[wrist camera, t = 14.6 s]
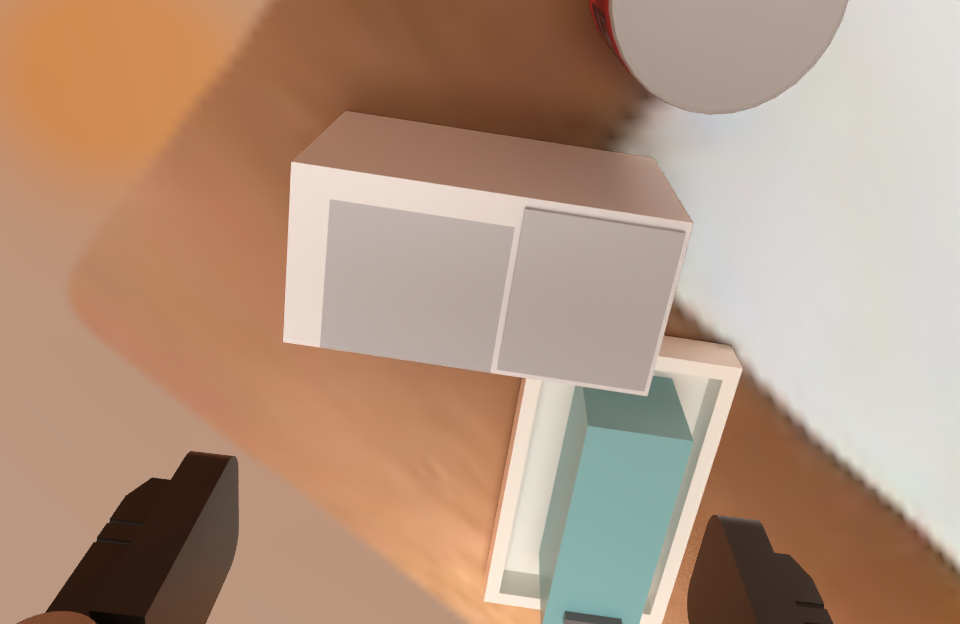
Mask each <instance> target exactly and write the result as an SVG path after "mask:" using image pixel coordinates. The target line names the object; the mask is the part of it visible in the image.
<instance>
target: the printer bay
mask: <svg viewBox="0 0 960 624" xmlns="http://www.w3.org/2000/svg"><path fill="white" fill-rule="evenodd" d="M692 227H693V221H692V220H691V218H690V217H689V215H688V213H687V212H686V210H685V208H684V207H683V205H682V203H681V202H680V200H679V199H678V197H677V195H676V194H675V192H674V190H673V189H672V187H671V186H670V184H669V182H668V181H667V179H666V177H665V176H664V174H663V172H662V171H661V169H660V168H659V166H658V164H657V163H656V161H655V159H654V158H650V157H643V156H637V155H630V154H624V153H617V152H611V151H604V150H598V149H591V148H585V147H578V146H572V145H565V144H559V143H552V142H546V141H539V140H533V139H526V138H520V137H513V136H507V135H500V134H494V133H487V132H481V131H474V130H467V129H461V128H454V127H448V126H441V125H435V124H428V123H422V122H415V121H409V120H402V119H396V118H389V117H383V116H376V115H370V114H363V113H357V112H350V111H345V112H344V113H343V114H342V115H341V116H339V117H338V118H337V119H336V120H335V121H334V122H333V123H332V124H331V125H330V126H329V127H328V128H327V129H326V130H325V131H324V132H322V133H321V134H320V135H319V136H318V137H317V138H316V139H315V140H314V141H313V142H312V143H311V144H310V145H309V146H308V147H307V148H305V149H304V150H303V151H302V152H301V153H300V154H299V155H298V156H297V157H296V158H295V159H294V160H293V161H292V162H291V182H290V204H289V226H288V248H287V270H286V292H285V314H284V336H283V342H287V343H293V344H300V345H307V346H313V347H320V348H327V349H334V350H340V351H347V352H354V353H360V354H367V355H374V356H381V357H387V358H394V359H401V360H407V361H414V362H421V363H427V364H434V365H441V366H448V367H454V368H461V369H468V370H474V371H481V372H488V373H495V374H501V375H508V376H515V377H521V378H528V379H535V380H542V381H548V382H555V383H562V384H568V385H575V386H582V387H589V388H595V389H602V390H609V391H615V392H622V393H629V394H635V395H642V396H648V392H649V388H650V385H651V381H652V377H653V373H654V370H655V366H656V362H657V358H658V355H659V351H660V347H661V343H662V340H663V336H664V332H665V328H666V325H667V321H668V317H669V313H670V310H671V306H672V302H673V298H674V294H675V291H676V287H677V283H678V279H679V276H680V272H681V268H682V264H683V261H684V257H685V253H686V249H687V246H688V242H689V238H690V234H691V231H692Z"/></svg>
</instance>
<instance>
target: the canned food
mask: <svg viewBox="0 0 960 624" xmlns="http://www.w3.org/2000/svg"><path fill="white" fill-rule="evenodd" d="M589 3H590V9H591V13H592V16H593V19H594V21H595V24H596V27H597V29H598V31H599V32H600V34H601V36H602V37H603V39H604V41H605V42H606V44H607V45H608V46H609V48H610V49H611V50H612V51H613V53H614V54H615V55H616V56H617V58H618V59H619V60H620V62H621V63H622V64H623V65H624V67H625V68H626V69H627V70H628V72H629V73H630V74H631V75H632V76H633V77H634V78H635V79H636V80H637V81H638V82H639V83H640V84H641V85H642V86H643V87H644V88H645V89H646V90H647V91H649V92H650V93H652V94H653V95H655V96H656V97H658V98H659V99H661V100H662V101H664V102H665V103H668V104H670V105H673V106H676V107H678V108H681V109H683V110H687V111H691V112H697V113H704V114H726V113H734V112H738V111H742V110H746V109H750V108H754V107H756V106H758V105H760V104H763V103H765V102H767V101H769V100H771V99H773V98H776V97H777V96H778V95H780V94H781V93H783V92H784V91H786V90H787V89H788V88H790V87H791V86H793V85H794V84H796V83H797V82H798V81H799V80H800V79H801V78H802V77H803V76H804V75H805V74H806V73H807V72H808V71H809V70H810V69H811V68H812V67H813V66H814V65H815V64H816V62H817V61H818V60H819V58H820V57H821V56H822V54H823V53H824V51H825V50H826V49H827V47H828V46H829V45H830V43H831V41H832V39H833V37H834V35H835V33H836V31H837V29H838V27H839V25H840V23H841V21H842V19H843V16H844V12H845V9H846V6H847V3H848V0H589Z"/></svg>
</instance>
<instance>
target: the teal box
mask: <svg viewBox="0 0 960 624" xmlns="http://www.w3.org/2000/svg"><path fill="white" fill-rule="evenodd" d="M693 442H694V441H693V438H692V435H691V432H690V429H689V426H688V423H687V420H686V417H685V414H684V412H683V409H682V406H681V403H680V400H679V397H678V394H677V391H676V388H675V385H674V383H673V380H672V378H665V377H658V376H653V377H652V381H651V385H650V388H649V392H648V396H642V395H635V394H629V393H622V392H615V391H609V390H602V389H595V388H589V387H582V386H575V390H574V394H573V399H572V403H571V408H570V413H569V417H568V422H567V426H566V431H565V436H564V440H563V445H562V449H561V454H560V459H559V463H558V468H557V472H556V477H555V482H554V486H553V491H552V495H551V500H550V505H549V509H548V514H547V519H546V523H545V528H544V532H543V537H542V542H541V546H540V551H539V576H540V614H541V624H639V623H640V620H641V616H642V613H643V610H644V606H645V603H646V600H647V596H648V593H649V590H650V586H651V583H652V580H653V576H654V573H655V569H656V566H657V563H658V559H659V556H660V553H661V549H662V546H663V543H664V539H665V536H666V532H667V529H668V526H669V522H670V519H671V516H672V512H673V509H674V506H675V502H676V499H677V496H678V492H679V489H680V485H681V482H682V479H683V475H684V472H685V469H686V465H687V462H688V459H689V455H690V452H691V449H692V445H693Z"/></svg>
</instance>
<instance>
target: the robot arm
mask: <svg viewBox="0 0 960 624" xmlns="http://www.w3.org/2000/svg"><path fill="white" fill-rule="evenodd" d="M238 529H239V508H238V461H237V458H236V457H235V456H228V455H219V454H211V453H202V452H194V451H190V452H189V453H188V454H187V455H186V457H185V458H184V460H183V461H182V463H181V464H180V466H179V468H178V469H177V471H176V472H175V474H174V476H173V477H172V479H171V480H167V479H159V478H151V479H149V480H148V481H147V482H145V483H144V484H142V485H141V486H139V487H138V488H137V489H135V490H134V491H132V492H131V493H129V494H128V495H126V496H125V498H124V499H123V501H122V502H121V504H120V505H119V506H118V508H117V509H116V511H115V512H114V514H113V515H112V517H111V518H110V522H109V523H107V524H106V526H105V527H104V528H103V530H102V531H101V533H100V534H99V535H98V537H97V541H96V542H94V543H93V544H92V546H91V547H90V549H89V550H88V551H87V553H86V554H85V556H84V557H83V559H82V560H81V562H80V563H79V564H78V566H77V567H76V569H75V570H74V572H73V573H72V575H71V576H70V577H69V579H68V580H67V582H66V583H65V585H64V586H63V588H62V589H61V591H60V592H59V593H58V595H57V596H56V598H55V599H54V601H53V602H52V604H51V605H50V606H49V608H48V609H47V611H46V612H45V613H42V614H39V615H35V616H32V617H30V618H27V619H25V620H22V621H20V622H18V623H17V624H206V622H207V619H208V617H209V615H210V612H211V610H212V608H213V606H214V603H215V601H216V599H217V597H218V595H219V592H220V590H221V588H222V586H223V583H224V581H225V579H226V576H227V574H228V572H229V570H230V567H231V565H232V562H233V559H234V555H235V551H236V546H237V541H238ZM687 611H688V620H689V624H833V622H832V620H831V618H830V615H829V613H828V611H827V609H824V603H823V601H822V599H821V596H820V594H819V592H818V590H817V588H816V586H815V584H814V582H813V579H812V578H811V577H810V576H809V575H808V574H807V573H806V572H805V571H804V570H803V569H802V568H801V566H800V565H799V564H798V563H797V562H796V561H795V560H794V559H793V558H792V557H791V556H790V555H788V554H779V553H774V551H773V549H772V546H771V544H770V542H769V539H768V537H767V535H766V532H765V530H764V528H763V526H762V524H761V523H760V521H758V520H753V519H745V518H736V517H728V516H719V515H713V516H712V517H711V518H710V519H709V521H708V524H707V527H706V530H705V534H704V537H703V540H702V544H701V547H700V550H699V553H698V557H697V560H696V563H695V567H694V570H693V573H692V577H691V580H690V584H689V589H688V598H687Z"/></svg>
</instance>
